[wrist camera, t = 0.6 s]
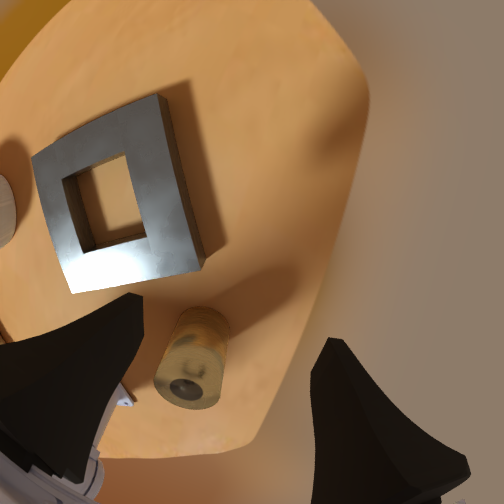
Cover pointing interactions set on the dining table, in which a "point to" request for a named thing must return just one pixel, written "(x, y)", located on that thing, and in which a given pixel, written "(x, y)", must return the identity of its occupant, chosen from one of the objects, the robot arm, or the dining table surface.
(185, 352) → the bushing
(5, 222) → the ramekin
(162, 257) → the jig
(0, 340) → the pipe fitting
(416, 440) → the robot arm
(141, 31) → the dining table surface
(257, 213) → the dining table surface
